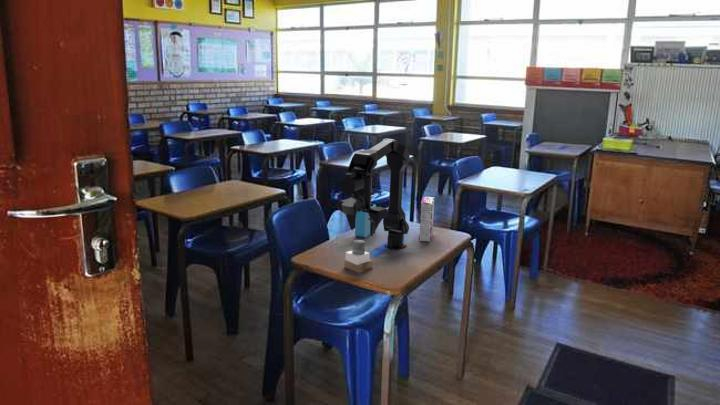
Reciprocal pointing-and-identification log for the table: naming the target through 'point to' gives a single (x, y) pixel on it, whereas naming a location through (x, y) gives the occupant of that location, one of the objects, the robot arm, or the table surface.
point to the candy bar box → (426, 219)
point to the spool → (358, 247)
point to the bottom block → (358, 266)
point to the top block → (357, 257)
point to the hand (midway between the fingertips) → (361, 232)
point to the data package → (362, 224)
